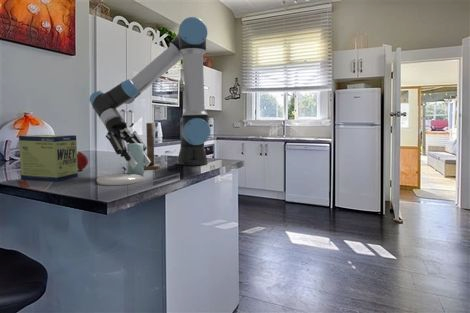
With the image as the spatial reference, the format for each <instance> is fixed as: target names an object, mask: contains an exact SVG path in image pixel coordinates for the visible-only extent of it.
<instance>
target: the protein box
mask: <svg viewBox="0 0 470 313" xmlns="http://www.w3.org/2000/svg"><path fill="white" fill-rule="evenodd" d="M18 145H19V161H20V179H21V180H28V181H40V182H42V181H43V182H54V183H56V182H61V181H65V180H70V179H74V178H78V177H79V173H78V171H79V169H78V167H77V154H78V147H77V135H74V134H73V135H72V134H71V135H68V134H67V135H66V134H65V135H62V134H54V135H53V134H29V135H28V134H27V135H18Z"/></svg>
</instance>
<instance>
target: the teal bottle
mask: <svg viewBox="0 0 470 313" xmlns="http://www.w3.org/2000/svg"><path fill="white" fill-rule="evenodd" d="M126 149H127V151H129V152H130V153H131V155H132V156H133V158H134V159H135V161H136V162H137V165H136V167H135V168H134V169H133V168H132V167H131V165H130V164H129V162H128V161H127V174H136V175H141V176H143V175H144V174H145V169H144V165H145V164H144V156H143V144H141V143H132V144H129V143H126ZM127 151H126V152H127Z"/></svg>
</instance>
